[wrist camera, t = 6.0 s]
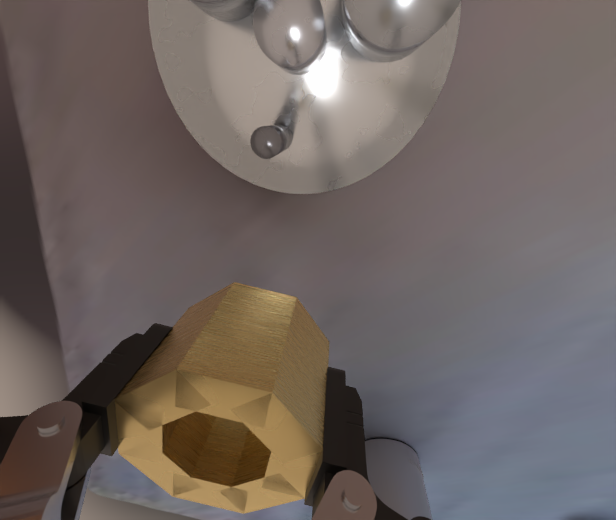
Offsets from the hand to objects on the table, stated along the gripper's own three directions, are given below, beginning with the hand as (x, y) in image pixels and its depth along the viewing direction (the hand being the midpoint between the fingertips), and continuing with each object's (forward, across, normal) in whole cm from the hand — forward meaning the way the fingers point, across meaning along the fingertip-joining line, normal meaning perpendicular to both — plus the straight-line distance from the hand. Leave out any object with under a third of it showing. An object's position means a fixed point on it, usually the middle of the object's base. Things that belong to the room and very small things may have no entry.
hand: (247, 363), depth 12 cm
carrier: (+16, +3, -13) cm, 21 cm away
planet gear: (+1, 0, 0) cm, 1 cm away
